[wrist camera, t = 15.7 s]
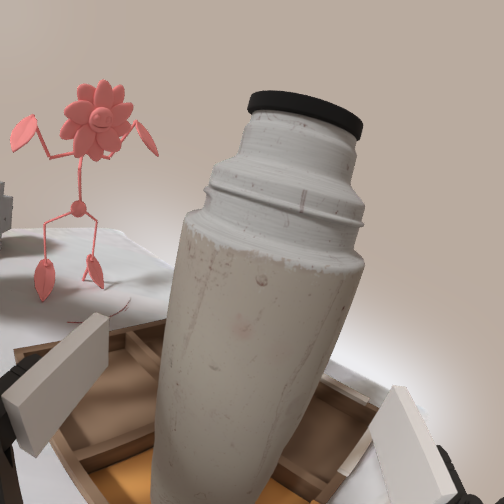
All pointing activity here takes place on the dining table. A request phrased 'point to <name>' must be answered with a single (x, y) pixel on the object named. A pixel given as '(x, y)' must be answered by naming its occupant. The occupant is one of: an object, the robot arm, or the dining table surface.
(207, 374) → the thermos bottle
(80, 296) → the dining table surface
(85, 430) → the wooden compartment tray
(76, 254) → the dining table surface
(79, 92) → the figurine
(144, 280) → the dining table surface
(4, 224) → the circuit breaker
